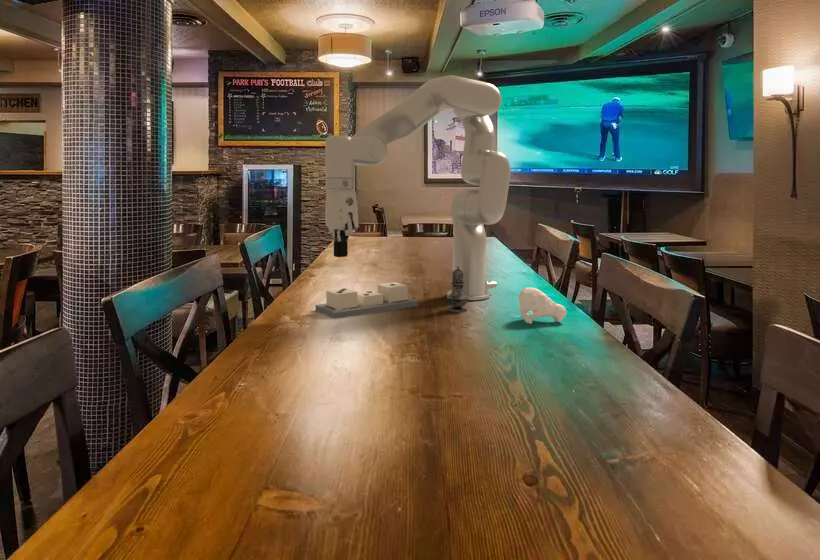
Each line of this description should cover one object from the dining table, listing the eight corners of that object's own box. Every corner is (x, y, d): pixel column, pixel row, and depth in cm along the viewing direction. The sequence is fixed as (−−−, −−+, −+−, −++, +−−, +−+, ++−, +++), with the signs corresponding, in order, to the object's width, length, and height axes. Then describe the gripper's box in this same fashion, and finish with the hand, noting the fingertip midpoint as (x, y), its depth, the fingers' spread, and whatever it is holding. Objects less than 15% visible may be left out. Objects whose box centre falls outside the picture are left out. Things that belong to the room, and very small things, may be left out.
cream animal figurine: (519, 284, 157) (567, 290, 156) (515, 316, 158) (562, 322, 157) (521, 289, 151) (570, 295, 149) (516, 322, 152) (565, 329, 151)
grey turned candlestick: (466, 313, 163) (467, 268, 161) (444, 312, 164) (445, 267, 162) (469, 308, 169) (470, 264, 167) (447, 307, 170) (448, 264, 168)
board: (315, 310, 165) (315, 304, 165) (396, 299, 180) (396, 294, 180) (335, 318, 156) (334, 312, 156) (418, 306, 171) (418, 300, 171)
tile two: (371, 304, 172) (371, 290, 171) (383, 308, 167) (383, 293, 167) (352, 307, 169) (352, 292, 168) (364, 311, 164) (363, 296, 163)
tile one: (395, 296, 176) (395, 281, 176) (407, 299, 172) (407, 284, 171) (377, 298, 173) (377, 283, 172) (389, 302, 168) (389, 287, 167)
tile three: (346, 302, 167) (346, 287, 167) (357, 306, 163) (357, 291, 162) (326, 305, 164) (326, 289, 163) (337, 309, 159) (337, 293, 158)
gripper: (368, 186, 154) (367, 259, 157) (339, 184, 166) (339, 252, 169) (341, 186, 150) (341, 261, 153) (313, 184, 162) (314, 254, 165)
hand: (340, 256), depth 161 cm, fingers closed
